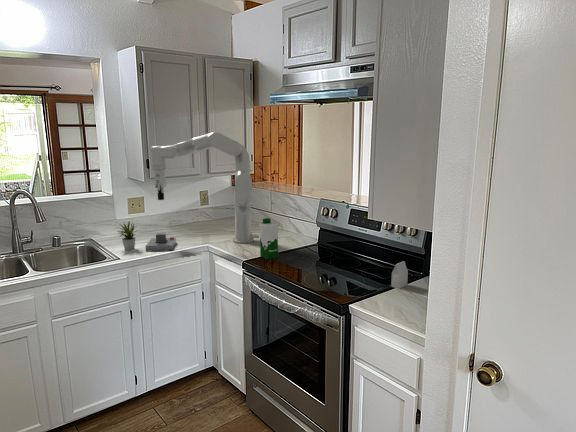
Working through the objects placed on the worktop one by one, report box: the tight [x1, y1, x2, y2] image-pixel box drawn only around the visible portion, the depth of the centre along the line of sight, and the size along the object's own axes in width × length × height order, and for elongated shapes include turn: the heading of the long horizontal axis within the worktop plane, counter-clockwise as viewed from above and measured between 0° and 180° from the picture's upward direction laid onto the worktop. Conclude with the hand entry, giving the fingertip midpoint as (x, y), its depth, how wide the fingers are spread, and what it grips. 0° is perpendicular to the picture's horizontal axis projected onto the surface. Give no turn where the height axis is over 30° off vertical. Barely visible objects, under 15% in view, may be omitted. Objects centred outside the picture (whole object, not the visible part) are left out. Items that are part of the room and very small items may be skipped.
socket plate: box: [145, 236, 177, 252], centre depth 247 cm, size 14×18×4 cm
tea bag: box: [390, 260, 409, 289], centre depth 180 cm, size 4×7×10 cm, turn 136°
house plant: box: [115, 220, 137, 251], centre depth 242 cm, size 14×14×16 cm
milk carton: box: [258, 217, 280, 260], centre depth 223 cm, size 9×9×20 cm
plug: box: [155, 232, 167, 243], centre depth 246 cm, size 5×4×8 cm
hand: (161, 199), depth 248 cm, fingers closed
